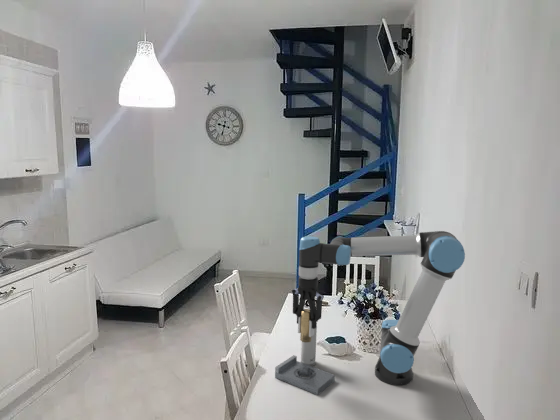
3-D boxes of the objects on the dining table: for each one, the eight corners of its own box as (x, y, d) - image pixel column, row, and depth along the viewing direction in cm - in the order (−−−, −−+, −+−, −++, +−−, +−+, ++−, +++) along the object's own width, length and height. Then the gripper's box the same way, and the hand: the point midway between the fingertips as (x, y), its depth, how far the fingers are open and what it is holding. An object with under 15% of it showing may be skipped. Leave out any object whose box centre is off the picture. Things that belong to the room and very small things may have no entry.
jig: (334, 380, 171) (335, 370, 170) (317, 395, 161) (318, 383, 160) (293, 365, 183) (293, 355, 182) (275, 377, 172) (275, 367, 172)
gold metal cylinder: (313, 339, 170) (314, 310, 168) (307, 343, 166) (308, 313, 165) (304, 336, 173) (305, 308, 171) (298, 340, 169) (299, 311, 167)
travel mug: (315, 367, 181) (316, 322, 178) (299, 365, 182) (301, 320, 180) (316, 360, 187) (318, 316, 185) (302, 358, 189) (303, 315, 186)
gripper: (332, 278, 164) (330, 336, 167) (295, 270, 174) (293, 325, 177) (322, 283, 158) (320, 343, 161) (284, 274, 168) (282, 330, 171)
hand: (306, 333), depth 169 cm, fingers closed on gold metal cylinder, 4 cm apart
